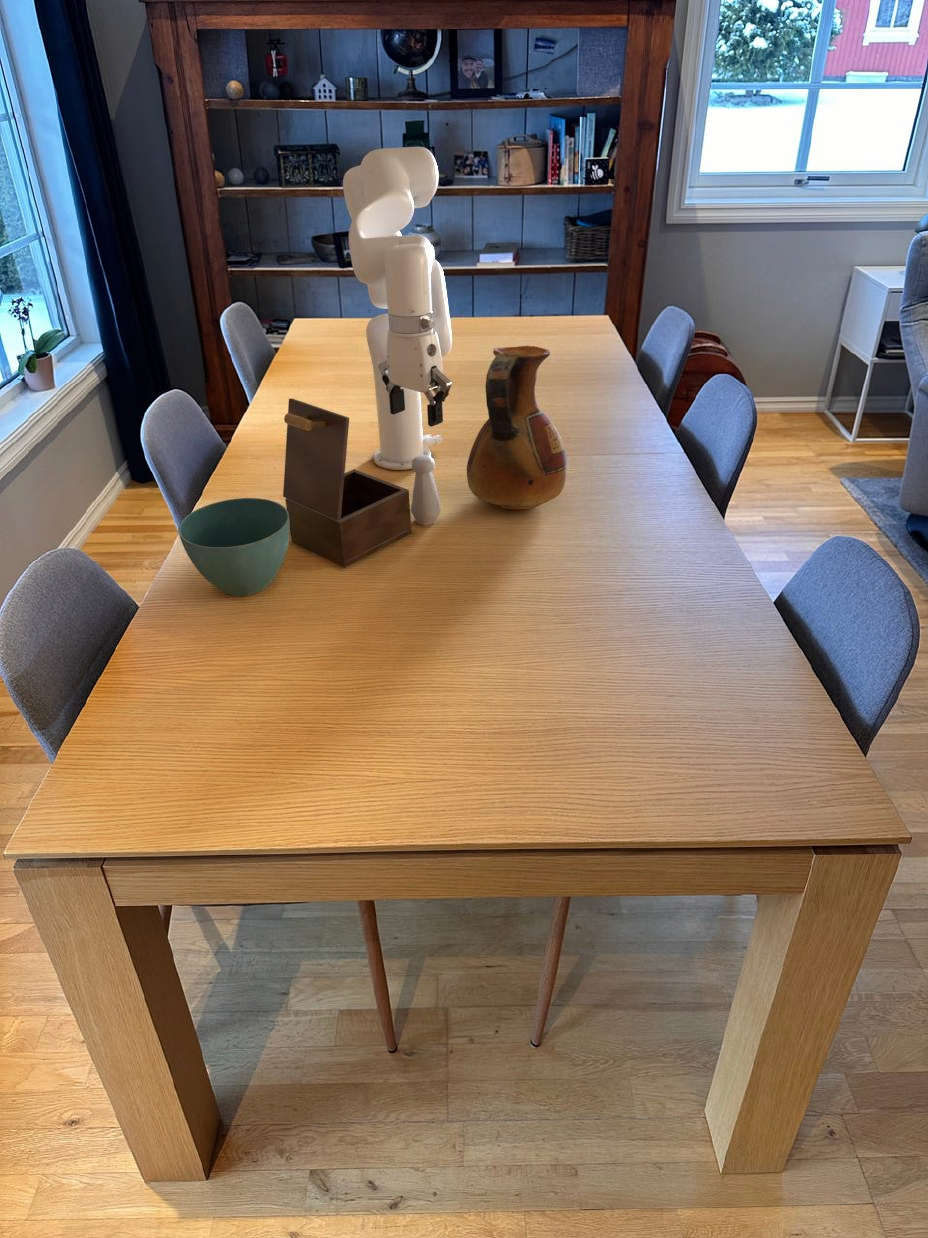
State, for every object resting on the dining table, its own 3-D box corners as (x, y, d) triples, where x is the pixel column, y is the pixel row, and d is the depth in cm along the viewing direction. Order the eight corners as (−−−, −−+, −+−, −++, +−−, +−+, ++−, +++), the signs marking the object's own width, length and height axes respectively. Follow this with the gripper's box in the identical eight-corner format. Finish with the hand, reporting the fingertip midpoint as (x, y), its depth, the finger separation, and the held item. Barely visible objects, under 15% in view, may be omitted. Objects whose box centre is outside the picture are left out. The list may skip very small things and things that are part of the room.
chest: (358, 510, 183) (354, 468, 178) (411, 533, 175) (408, 489, 170) (291, 542, 173) (284, 498, 168) (344, 567, 164) (339, 522, 159)
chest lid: (292, 398, 161) (267, 399, 157) (349, 417, 153) (324, 419, 149) (286, 496, 168) (262, 499, 164) (340, 520, 159) (316, 524, 156)
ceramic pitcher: (579, 485, 190) (585, 340, 174) (544, 528, 175) (548, 373, 158) (492, 471, 197) (490, 330, 181) (451, 510, 182) (445, 361, 166)
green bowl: (207, 623, 150) (192, 557, 144) (181, 574, 164) (167, 512, 157) (312, 594, 157) (303, 530, 150) (279, 549, 171) (269, 489, 164)
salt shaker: (445, 515, 180) (443, 453, 173) (435, 529, 176) (432, 465, 169) (417, 512, 182) (414, 450, 175) (407, 525, 177) (402, 462, 170)
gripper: (462, 325, 155) (465, 423, 164) (391, 309, 165) (398, 402, 174) (431, 335, 150) (436, 435, 159) (360, 318, 160) (369, 413, 170)
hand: (416, 418), depth 167 cm, fingers open, 9 cm apart
